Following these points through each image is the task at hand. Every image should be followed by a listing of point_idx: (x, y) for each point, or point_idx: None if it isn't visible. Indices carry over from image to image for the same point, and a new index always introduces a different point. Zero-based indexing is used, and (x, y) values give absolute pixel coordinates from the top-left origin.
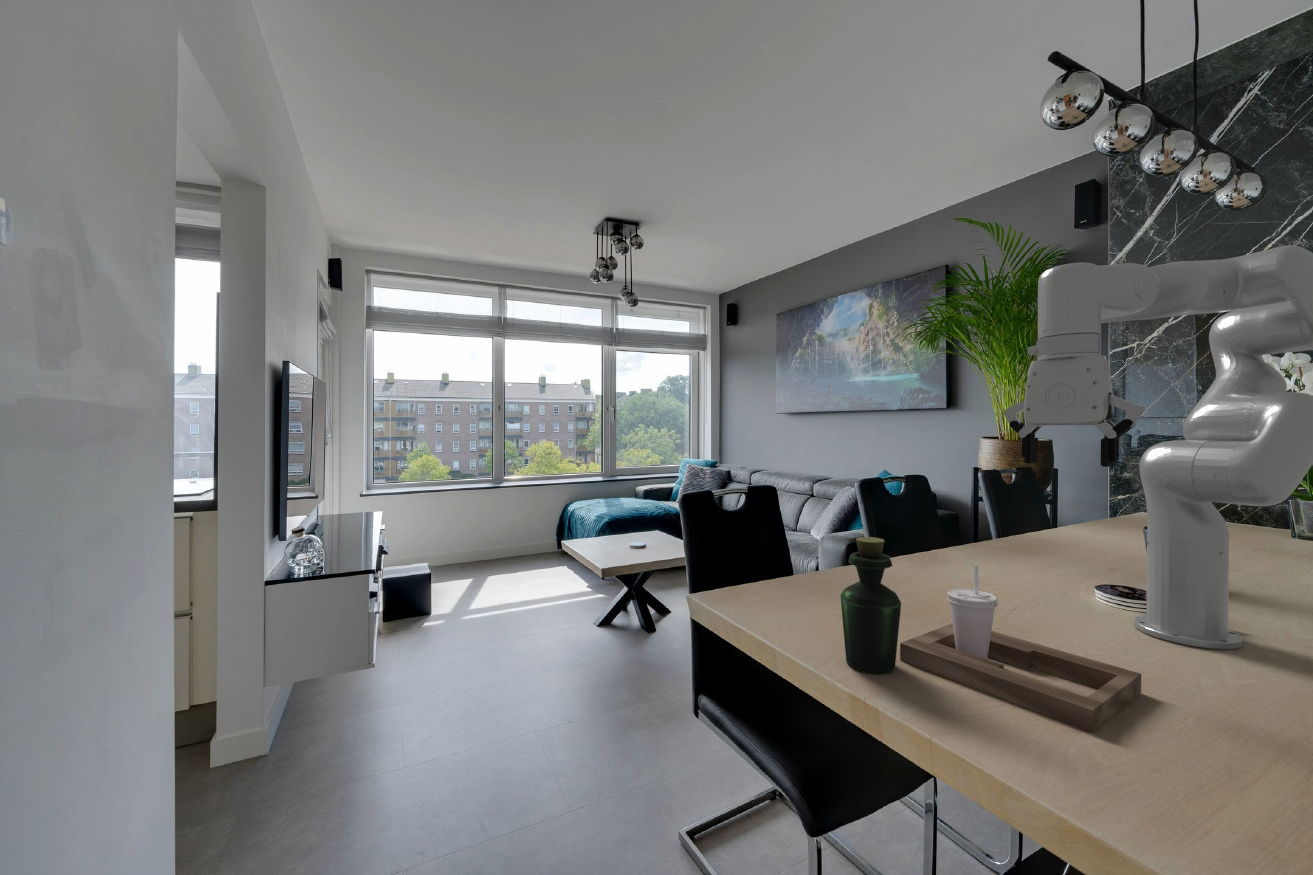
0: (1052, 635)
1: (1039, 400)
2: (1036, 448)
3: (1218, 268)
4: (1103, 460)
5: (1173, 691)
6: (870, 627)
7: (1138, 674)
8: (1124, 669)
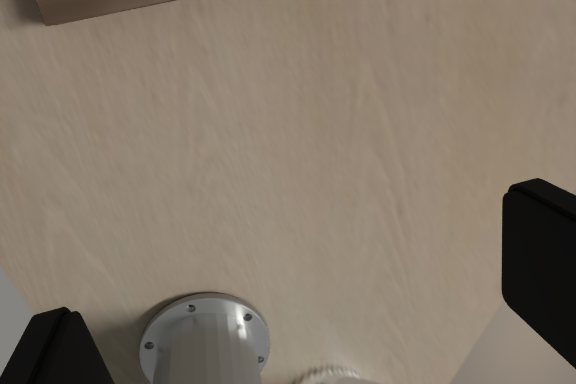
0: (289, 148)
1: None
2: (574, 340)
3: None
4: (42, 333)
5: (49, 88)
6: None
7: (43, 15)
8: (70, 17)
